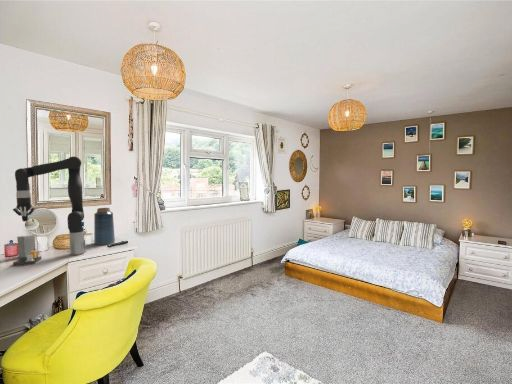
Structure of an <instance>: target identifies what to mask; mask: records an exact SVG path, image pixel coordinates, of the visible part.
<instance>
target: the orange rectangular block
mask: <svg viewBox="0 0 512 384" xmlns="http://www.w3.org/2000/svg"><path fill="white" fill-rule="evenodd" d="M36 251H37V250H35V251H31V252H30V254H33V259H37V258H39V257H37V253H36Z"/></svg>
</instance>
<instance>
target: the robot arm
mask: <svg viewBox="0 0 512 384" xmlns="http://www.w3.org/2000/svg"><path fill="white" fill-rule="evenodd" d="M81 166H82V160H81V159H80V158H79V157H78V156H70V157H68V158H65V159H62V160H59V161H55V162H54V161H53V162H48V163H47V162H46V163H41V164H37V165H33V166H30V167H24V168H17V169H16V170H15V172H14V179H15V183H16V184H15V185H16V193H15V196H16V207H15V208H12V211H13V212H14V213H15V214H16V215H17V216H20V217H21V220H22V222H23V223H24V222H28V220H29V216H32V214H33V213H34V212H35V210H36V207H34V206H33V205H32V199H31V198H32V197H31V188H30V186H31V185H30V183H29V178H32V177H36V176H40V175H41V176H42V175H46V174H50V173H53V172H56V171H60V170H61V171H62V170H67V171H68V172H67V173H68V179H67V180H68V181H67V194H68V198H69V200H70V204H71V212H70V213H69V214H68V215H67V229H68V231H69V253H70V254H69V255H71V256H79V255H83V254H85V253H86V240H85V237H84V236H85V233H84V232H85V231H84V229H85V228H84V227H83V220H84V219H85V211H84V207H83V183H82V177H81Z"/></svg>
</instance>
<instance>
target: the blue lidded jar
mask: <svg viewBox="0 0 512 384" xmlns="http://www.w3.org/2000/svg"><path fill="white" fill-rule="evenodd" d="M93 216H94V219H93V220H94V221H93V222H94V223H93V226H94V227H93V229H94V230H93V233H94V234H93V237H94V238H93V244H94V245H96V246H106V245H111V243H112V244H114V243H115V241H116V237H115V224H114V212H112V211H111V209H110V207H98V208H97V209H96V212H95V213H94V215H93Z"/></svg>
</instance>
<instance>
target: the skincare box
mask: <svg viewBox="0 0 512 384" xmlns="http://www.w3.org/2000/svg"><path fill="white" fill-rule="evenodd" d="M35 235H36V234H26V235H20V236H17V237H16V238H17V240H16V241H17V253H18V258H23V257H27V255H30V252H31V251H36V239H35V237H36V236H35Z"/></svg>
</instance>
